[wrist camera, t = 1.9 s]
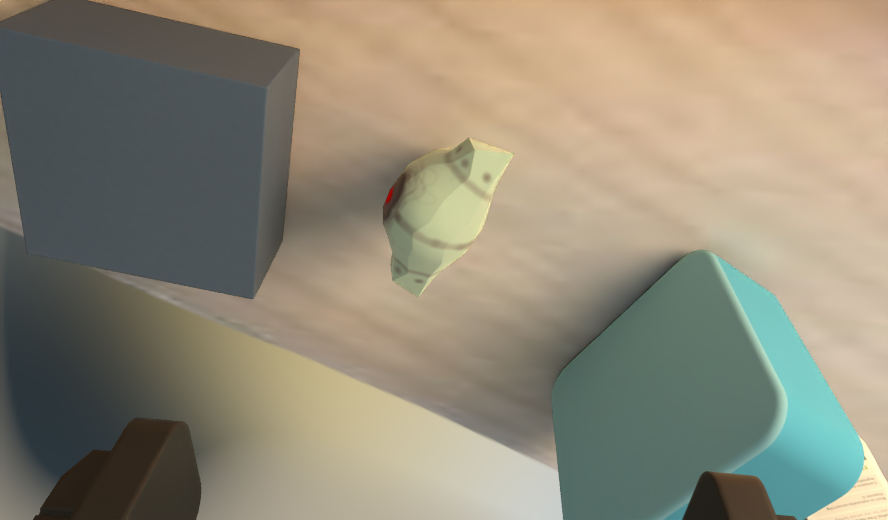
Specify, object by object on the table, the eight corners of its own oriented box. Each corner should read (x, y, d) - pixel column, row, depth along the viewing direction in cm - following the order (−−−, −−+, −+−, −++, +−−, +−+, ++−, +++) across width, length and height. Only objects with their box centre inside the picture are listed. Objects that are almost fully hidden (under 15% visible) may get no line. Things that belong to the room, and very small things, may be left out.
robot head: (438, 247, 34) (428, 333, 28) (365, 211, 33) (339, 292, 27) (524, 116, 30) (532, 186, 24) (443, 71, 29) (432, 132, 23)
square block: (84, 200, 33) (26, 254, 29) (63, -6, 28) (-12, 25, 24) (282, 241, 34) (253, 300, 30) (300, 48, 29) (267, 87, 24)
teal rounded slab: (607, 415, 39) (646, 617, 29) (547, 381, 38) (566, 579, 28) (768, 280, 34) (884, 475, 24) (702, 235, 32) (796, 420, 22)
